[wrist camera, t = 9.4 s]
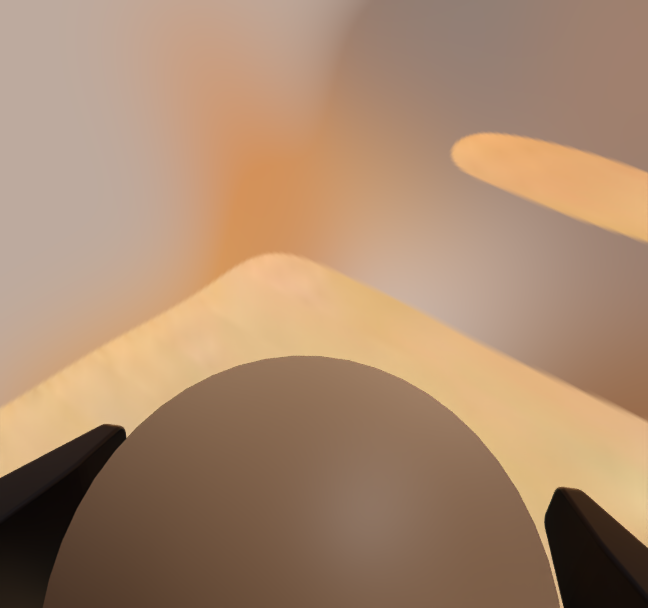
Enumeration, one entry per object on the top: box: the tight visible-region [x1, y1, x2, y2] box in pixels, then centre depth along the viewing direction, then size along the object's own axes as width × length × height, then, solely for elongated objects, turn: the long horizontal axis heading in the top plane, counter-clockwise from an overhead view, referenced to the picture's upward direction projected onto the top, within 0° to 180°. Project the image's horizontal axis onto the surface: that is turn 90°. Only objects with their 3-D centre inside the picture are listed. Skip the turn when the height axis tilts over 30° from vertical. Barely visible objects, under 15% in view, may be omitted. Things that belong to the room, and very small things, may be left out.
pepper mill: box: [43, 356, 560, 608], centre depth 10 cm, size 5×5×13 cm
